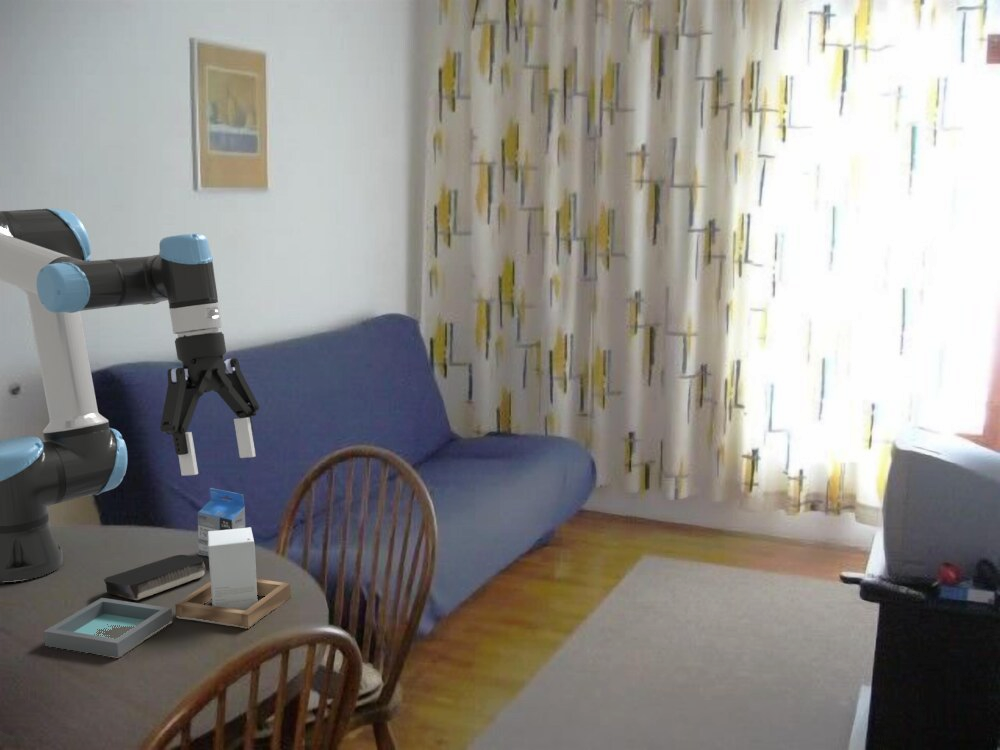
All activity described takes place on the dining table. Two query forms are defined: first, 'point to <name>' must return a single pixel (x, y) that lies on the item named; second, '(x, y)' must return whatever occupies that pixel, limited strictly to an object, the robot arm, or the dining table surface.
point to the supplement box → (232, 568)
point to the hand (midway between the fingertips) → (220, 465)
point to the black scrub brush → (155, 577)
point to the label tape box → (219, 516)
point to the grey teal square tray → (97, 615)
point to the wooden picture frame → (195, 609)
